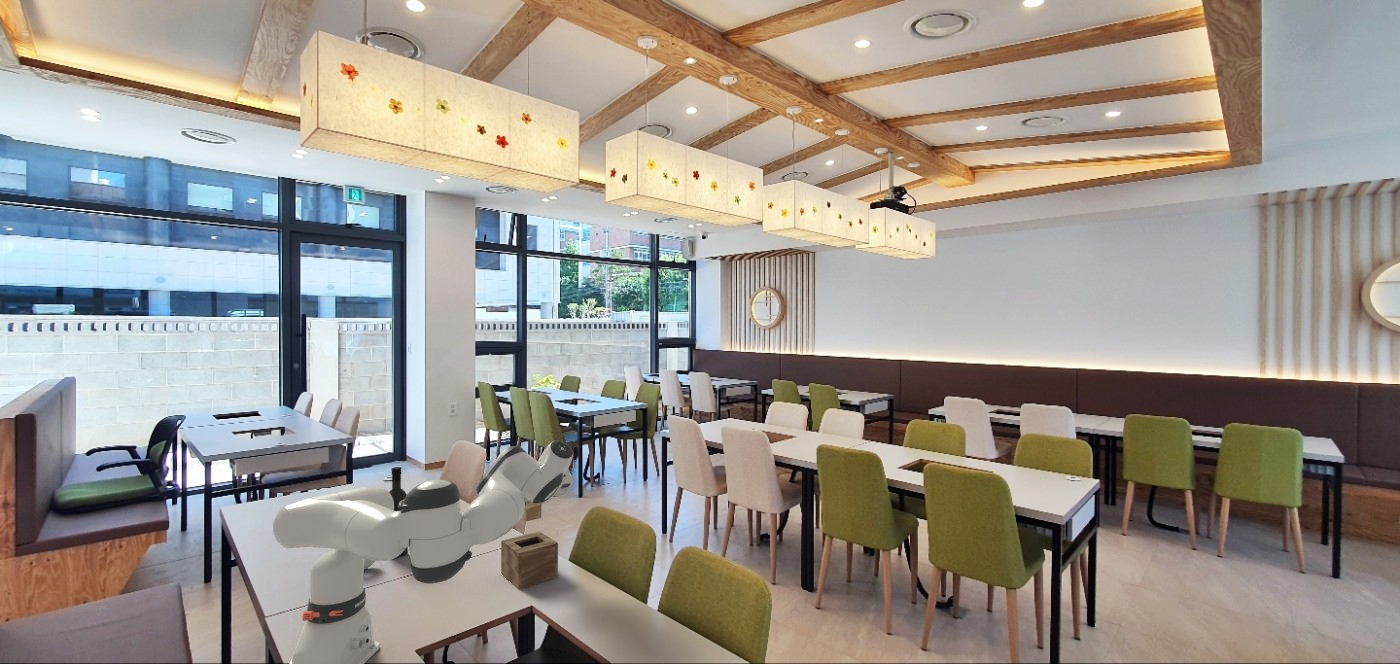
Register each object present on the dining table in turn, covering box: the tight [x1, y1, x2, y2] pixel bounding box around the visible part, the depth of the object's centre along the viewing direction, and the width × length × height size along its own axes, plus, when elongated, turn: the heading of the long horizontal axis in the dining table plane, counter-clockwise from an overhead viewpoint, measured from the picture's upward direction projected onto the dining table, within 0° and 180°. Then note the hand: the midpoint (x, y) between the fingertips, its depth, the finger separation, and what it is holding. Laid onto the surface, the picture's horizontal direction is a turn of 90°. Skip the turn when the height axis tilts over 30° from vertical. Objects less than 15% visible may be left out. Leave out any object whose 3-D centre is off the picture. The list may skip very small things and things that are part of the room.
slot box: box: [500, 531, 559, 590], centre depth 190 cm, size 13×13×11 cm
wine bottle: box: [388, 466, 409, 559], centre depth 206 cm, size 6×6×30 cm
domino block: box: [521, 501, 542, 522], centre depth 189 cm, size 3×5×8 cm, turn 130°
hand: (531, 503), depth 189 cm, fingers closed on domino block, 5 cm apart
